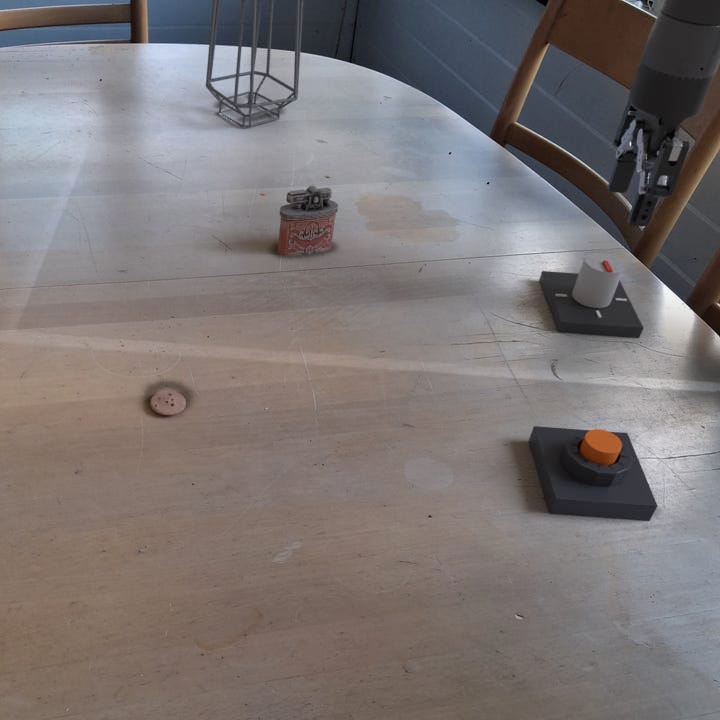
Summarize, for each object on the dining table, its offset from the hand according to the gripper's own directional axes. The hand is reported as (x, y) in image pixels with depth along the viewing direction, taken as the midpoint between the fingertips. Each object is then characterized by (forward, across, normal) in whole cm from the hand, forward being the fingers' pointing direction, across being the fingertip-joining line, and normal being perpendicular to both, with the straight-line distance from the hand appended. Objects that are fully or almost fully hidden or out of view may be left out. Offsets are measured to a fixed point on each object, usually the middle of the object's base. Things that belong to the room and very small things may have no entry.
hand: (626, 207), depth 105 cm
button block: (+15, -31, +7) cm, 35 cm away
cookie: (+15, -23, +51) cm, 58 cm away
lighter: (+15, +10, +36) cm, 41 cm away
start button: (+12, -31, +7) cm, 34 cm away
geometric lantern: (+15, +58, +45) cm, 74 cm away
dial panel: (+15, 0, 0) cm, 15 cm away
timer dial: (+12, 0, 0) cm, 12 cm away
